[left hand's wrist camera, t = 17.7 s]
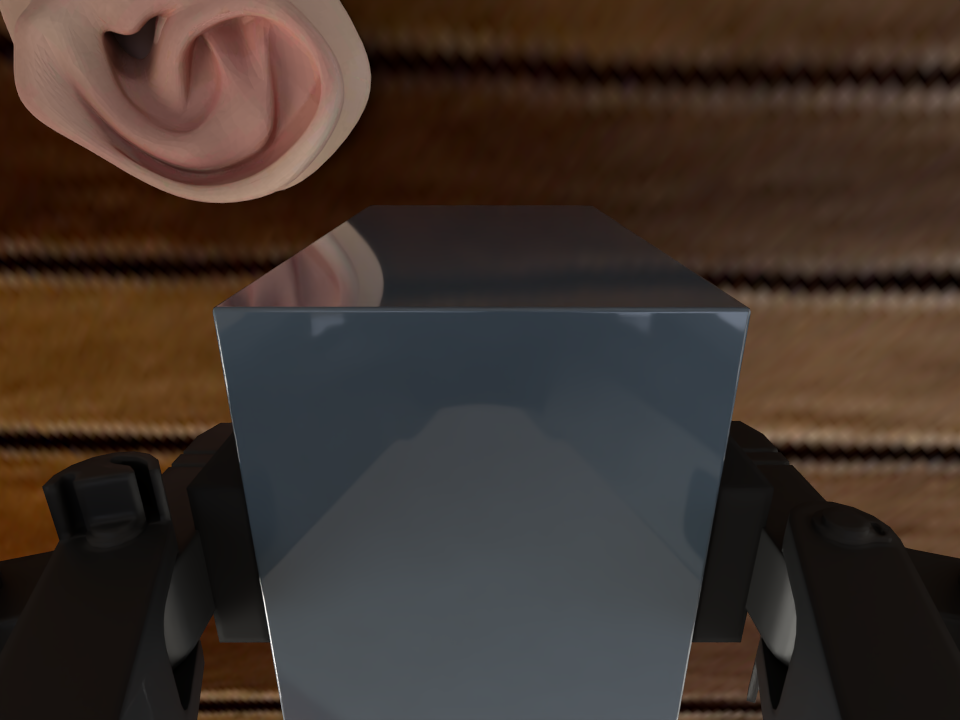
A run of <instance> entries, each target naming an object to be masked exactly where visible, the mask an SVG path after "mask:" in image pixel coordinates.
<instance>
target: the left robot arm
mask: <svg viewBox="0 0 960 720" xmlns="http://www.w3.org/2000/svg"><path fill="white" fill-rule="evenodd" d="M42 487H43V491H44V494H45V497H46V500H47V503H48V506H49V509H50V512H51V515H52V518H53V521H54V525H55V528H56V531H57V534H58V537H59V540H60V541H59V543H58V544H57V546H56V548H55V550H54V551H50V552H46V553H40V554H35V555H30V556H25V557H20V558H15V559H10V560H5V561H0V720H197V716H198V709H199V701H200V693H201V686H202V678H203V670H204V656H203V650H202V646H201V641H200V637H201V635H202V633H203V631H204V629H205V628H206V626H207V624H208V622H209V620H210V619H211V617H212V615H213V613H214V618H215V623H216V627H217V632H218V637H219V641H220V642H270V637H269V632H268V626H267V620H266V614H265V609H264V603H263V597H262V592H261V586H260V580H259V574H258V569H257V563H256V557H255V551H254V546H253V540H252V534H251V528H250V523H249V517H248V511H247V505H246V500H245V494H244V488H243V482H242V477H241V471H240V465H239V460H238V454H237V448H236V442H235V437H234V431H233V425H232V423H220V424H218V425H216V426H215V427H213V428H211V429H209V430H207V431H206V432H204V433H202V434H200V435H199V436H197V437H196V439H195V440H194V441H193V442H192V443H191V444H190V445H189V446H188V447H187V448H186V449H185V450H184V454H181V455H180V456H179V457H178V458H177V459H176V460H175V461H174V462H173V463H172V467H168V469H167V470H166V471H165V472H164V473H163V474H161V470H160V466H159V461H158V459H156V458H155V457H153V456H152V455H150V454H147V453H141V452H135V451H133V452H117V453H111V454H106V455H101V456H97V457H92V458H90V459H87V460H84V461H82V462H79V463H76V464H74V465H71V466H69V467H68V468H66V469H64V470H62V471H61V472H59V473H57V474H55V475H54V476H53V477H52V478H51V479H50V480H49V481H48V482H47V483H46V484H45V485H43V486H42ZM747 611H748V613H749V615H750V617H751V618H752V620H753V622H754V624H755V626H756V627H757V629H758V631H759V633H760V635H761V637H760V641H759V646H758V650H757V654H756V659H755V663H754V667H753V671H752V676H751V680H750V684H749V689H748V695H747V701H750V702H754V703H755V701H756V696H757V692H758V690H759V692H760V699H761V707H762V715H763V720H960V559H959V558H954V557H949V556H944V555H939V554H934V553H928V552H923V551H918V550H913V549H909V548H905V547H904V545H903V543H902V541H901V540H900V538H899V537H898V536H897V535H896V534H895V532H894V531H893V530H892V529H891V528H890V527H889V526H887V525H886V524H884V523H883V522H882V521H880V520H879V519H877V518H876V517H874V516H872V515H870V514H868V513H865V512H863V511H861V510H859V509H856V508H854V507H850V506H847V505H843V504H839V503H835V502H827V501H826V500H825V499H824V498H823V497H822V496H821V495H820V494H819V493H818V492H817V491H816V490H815V489H814V488H813V487H812V486H811V485H810V483H809V482H808V481H807V480H806V479H805V478H804V477H803V476H802V475H801V474H800V473H799V472H798V471H797V470H796V469H795V467H794V466H793V465H789V461H788V460H787V459H786V458H785V457H784V456H783V455H782V454H781V453H780V452H777V448H776V447H775V446H774V445H773V444H772V443H771V442H770V441H769V440H768V439H767V438H766V437H765V436H764V435H763V434H762V433H760V432H759V431H757V430H755V429H753V428H751V427H750V426H748V425H746V424H744V423H743V422H741V421H731V425H730V431H729V436H728V442H727V447H726V453H725V459H724V464H723V470H722V475H721V481H720V487H719V492H718V498H717V503H716V509H715V515H714V520H713V526H712V531H711V537H710V543H709V548H708V554H707V559H706V565H705V571H704V576H703V582H702V587H701V593H700V599H699V604H698V610H697V615H696V621H695V627H694V632H693V638H692V642H741V638H742V634H743V629H744V625H745V620H746V615H747Z"/></svg>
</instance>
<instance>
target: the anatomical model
mask: <svg viewBox="0 0 960 720" xmlns="http://www.w3.org/2000/svg"><path fill="white" fill-rule="evenodd" d="M0 10H1V13H2V16H3V19H4V21H5V24H6V26H7V29H8V31H9V33H10V36H11V38H12V41H13V43H14V76H15V84H16V88H17V91H18V95H19V97H20V99H21V101H22V102H23V104H24V105H25V107H26V108H27V109H28V110H29V111H30V112H31V113H32V114H33V115H34V116H35V117H36V118H37V119H38V120H40V121H41V122H43V123H44V124H45V125H47V126H48V127H50V128H52V129H53V130H55V131H56V132H58V133H60V134H62V135H64V136H65V137H67V138H69V139H71V140H72V141H74V142H76V143H78V144H80V145H81V146H83V147H85V148H87V149H88V150H90V151H92V152H94V153H95V154H97V155H99V156H100V157H102V158H104V159H105V160H107V161H109V162H110V163H112V164H114V165H115V166H117V167H119V168H120V169H122V170H124V171H125V172H127V173H129V174H131V175H132V176H134V177H136V178H138V179H140V180H142V181H144V182H146V183H148V184H149V185H152V186H154V187H156V188H158V189H160V190H163V191H165V192H168V193H170V194H173V195H176V196H179V197H183V198H186V199H190V200H196V201H202V202H211V203H228V202H239V201H246V200H251V199H256V198H260V197H263V196H266V195H269V194H271V193H274V192H276V191H280V190H284V189H286V188H289V187H291V186H294V185H296V184H297V183H299V182H301V181H302V180H304V179H305V178H307V177H308V176H309V175H311V174H312V173H314V172H315V171H316V170H317V169H318V168H319V167H320V166H321V165H322V164H323V163H324V162H325V161H326V160H327V159H328V158H329V157H330V156H331V155H332V154H333V153H334V152H335V151H336V150H337V149H338V148H339V146H340V145H341V144H342V143H343V142H344V140H345V139H346V138H347V137H348V135H349V134H350V132H351V131H352V129H353V128H354V126H355V125H356V123H357V122H358V120H359V118H360V116H361V114H362V113H363V111H364V109H365V106H366V104H367V101H368V98H369V93H370V86H371V72H370V65H369V61H368V57H367V54H366V51H365V48H364V46H363V43H362V41H361V39H360V37H359V35H358V33H357V31H356V29H355V27H354V25H353V23H352V21H351V19H350V17H349V15H348V13H347V12H346V10H345V9H344V7H343V5H342V4H341V2H340V0H0Z"/></svg>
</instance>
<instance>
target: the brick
mask: <svg viewBox="0 0 960 720" xmlns="http://www.w3.org/2000/svg"><path fill="white" fill-rule="evenodd" d="M750 313H751V312H750V308H748V307H747V306H745V305H744V304H742V303H740V302H739V301H737V300H736V299H734V298H733V297H731V296H730V295H728V294H727V293H725V292H724V291H722V290H720V289H719V288H717V287H716V286H714V285H713V284H711V283H710V282H708V281H707V280H705V279H704V278H702V277H701V276H699V275H697V274H696V273H694V272H693V271H691V270H690V269H688V268H687V267H685V266H684V265H682V264H681V263H679V262H678V261H676V260H674V259H673V258H671V257H670V256H668V255H667V254H665V253H664V252H662V251H661V250H659V249H658V248H656V247H654V246H653V245H651V244H650V243H648V242H647V241H645V240H644V239H642V238H641V237H639V236H638V235H636V234H635V233H633V232H631V231H630V230H628V229H627V228H625V227H624V226H622V225H621V224H619V223H618V222H616V221H615V220H613V219H611V218H610V217H608V216H607V215H605V214H604V213H602V212H601V211H599V210H598V209H596V208H595V207H593V206H429V205H371V206H369V207H367V208H366V209H364V210H362V211H361V212H359V213H358V214H356V215H355V216H353V217H352V218H350V219H349V220H347V221H346V222H344V223H343V224H341V225H340V226H338V227H336V228H335V229H333V230H332V231H330V232H329V233H327V234H326V235H324V236H323V237H321V238H320V239H318V240H317V241H315V242H314V243H312V244H310V245H309V246H307V247H306V248H304V249H303V250H301V251H300V252H298V253H297V254H295V255H294V256H292V257H291V258H289V259H288V260H286V261H285V262H283V263H281V264H280V265H278V266H277V267H275V268H274V269H272V270H271V271H269V272H268V273H266V274H265V275H263V276H262V277H260V278H259V279H257V280H255V281H254V282H252V283H251V284H249V285H248V286H246V287H245V288H243V289H242V290H240V291H239V292H237V293H236V294H234V295H233V296H231V297H230V298H228V299H226V300H225V301H223V302H222V303H220V304H219V305H217V306H216V307H214V309H213V316H214V322H215V327H216V333H217V339H218V345H219V350H220V356H221V362H222V368H223V373H224V379H225V385H226V391H227V396H228V402H229V408H230V414H231V419H232V425H233V431H234V437H235V442H236V448H237V454H238V460H239V465H240V471H241V477H242V482H243V488H244V494H245V500H246V505H247V511H248V517H249V523H250V528H251V534H252V540H253V546H254V551H255V557H256V563H257V569H258V574H259V580H260V586H261V592H262V597H263V603H264V609H265V614H266V620H267V626H268V632H269V637H270V643H271V649H272V655H273V660H274V666H275V672H276V678H277V683H278V689H279V695H280V701H281V706H282V712H283V718H284V720H678V716H679V711H680V705H681V699H682V694H683V688H684V683H685V677H686V671H687V666H688V660H689V655H690V649H691V643H692V638H693V632H694V627H695V621H696V615H697V610H698V604H699V599H700V593H701V587H702V582H703V576H704V571H705V565H706V559H707V554H708V548H709V543H710V537H711V531H712V526H713V520H714V515H715V509H716V503H717V498H718V492H719V487H720V481H721V475H722V470H723V464H724V459H725V453H726V447H727V442H728V436H729V431H730V425H731V419H732V414H733V408H734V403H735V397H736V391H737V386H738V380H739V375H740V369H741V363H742V358H743V352H744V347H745V341H746V335H747V330H748V324H749V319H750Z"/></svg>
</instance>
